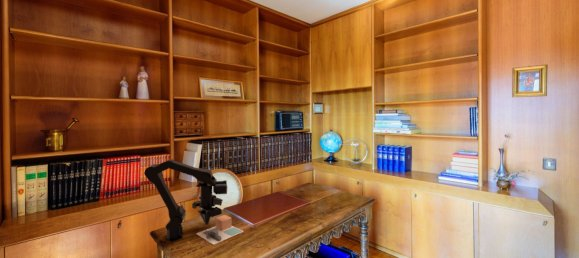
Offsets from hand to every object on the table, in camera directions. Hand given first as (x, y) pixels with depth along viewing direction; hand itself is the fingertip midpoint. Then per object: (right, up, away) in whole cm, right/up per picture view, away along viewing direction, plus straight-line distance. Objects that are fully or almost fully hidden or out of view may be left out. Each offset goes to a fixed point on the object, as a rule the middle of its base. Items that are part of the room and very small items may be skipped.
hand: (206, 224), depth 132 cm
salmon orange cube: (+7, -4, +8) cm, 11 cm away
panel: (+6, -6, +1) cm, 9 cm away
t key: (+6, -5, -5) cm, 9 cm away
